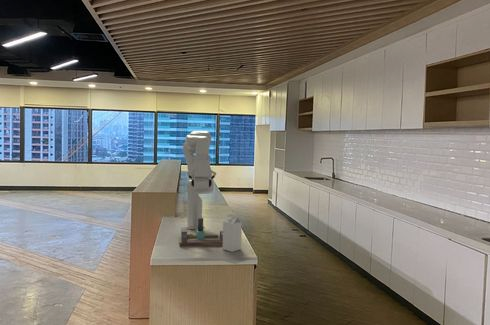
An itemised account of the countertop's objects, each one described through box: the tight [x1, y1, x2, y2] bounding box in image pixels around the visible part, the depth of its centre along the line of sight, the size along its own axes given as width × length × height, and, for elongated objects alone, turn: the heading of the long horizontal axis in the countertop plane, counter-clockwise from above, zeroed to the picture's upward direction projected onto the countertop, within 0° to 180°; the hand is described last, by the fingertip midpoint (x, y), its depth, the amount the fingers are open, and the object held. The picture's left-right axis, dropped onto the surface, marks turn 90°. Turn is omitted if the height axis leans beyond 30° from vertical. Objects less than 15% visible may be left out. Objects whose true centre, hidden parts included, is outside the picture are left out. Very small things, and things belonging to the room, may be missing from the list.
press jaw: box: [195, 217, 205, 239], centre depth 247 cm, size 7×4×12 cm, turn 9°
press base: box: [178, 227, 223, 247], centre depth 248 cm, size 12×25×8 cm, turn 99°
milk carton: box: [222, 213, 243, 253], centre depth 236 cm, size 7×7×19 cm
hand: (201, 186), depth 260 cm, fingers open, 9 cm apart
